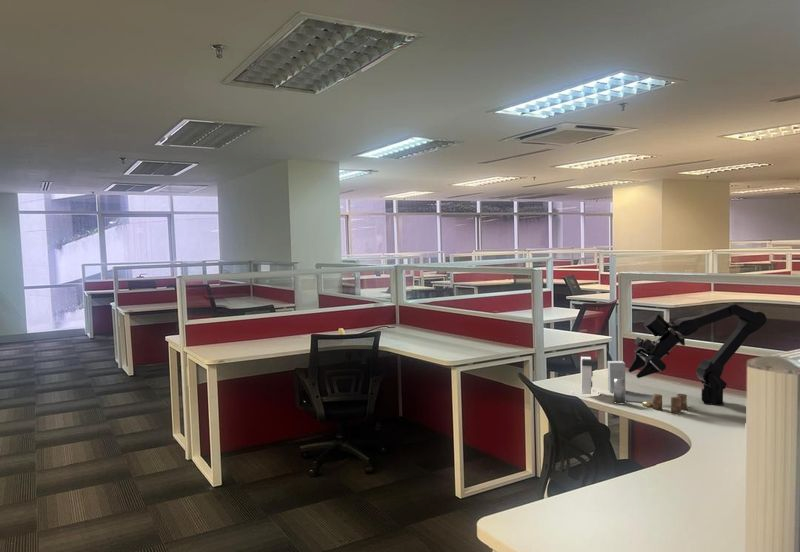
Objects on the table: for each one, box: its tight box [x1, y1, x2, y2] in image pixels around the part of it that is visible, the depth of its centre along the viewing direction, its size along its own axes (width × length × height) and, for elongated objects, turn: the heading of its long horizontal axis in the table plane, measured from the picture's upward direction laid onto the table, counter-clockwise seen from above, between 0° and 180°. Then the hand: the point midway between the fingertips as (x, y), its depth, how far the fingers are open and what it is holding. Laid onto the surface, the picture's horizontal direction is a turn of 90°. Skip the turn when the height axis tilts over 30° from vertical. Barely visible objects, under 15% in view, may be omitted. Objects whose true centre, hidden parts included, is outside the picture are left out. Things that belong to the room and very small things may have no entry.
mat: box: [625, 392, 653, 404], centre depth 221 cm, size 12×12×1 cm
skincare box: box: [607, 360, 626, 393], centre depth 233 cm, size 6×4×12 cm
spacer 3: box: [676, 393, 688, 411], centre depth 207 cm, size 3×3×5 cm
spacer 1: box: [652, 393, 663, 411], centre depth 208 cm, size 3×3×5 cm
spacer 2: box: [670, 396, 682, 414], centre depth 203 cm, size 3×3×5 cm
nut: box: [642, 401, 653, 408], centre depth 212 cm, size 4×4×2 cm
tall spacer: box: [613, 378, 626, 404], centre depth 216 cm, size 4×4×9 cm
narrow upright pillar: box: [570, 353, 601, 394], centre depth 230 cm, size 12×11×15 cm
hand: (633, 374), depth 216 cm, fingers open, 9 cm apart
